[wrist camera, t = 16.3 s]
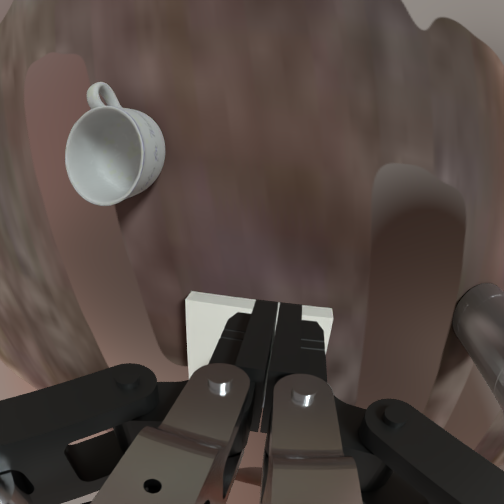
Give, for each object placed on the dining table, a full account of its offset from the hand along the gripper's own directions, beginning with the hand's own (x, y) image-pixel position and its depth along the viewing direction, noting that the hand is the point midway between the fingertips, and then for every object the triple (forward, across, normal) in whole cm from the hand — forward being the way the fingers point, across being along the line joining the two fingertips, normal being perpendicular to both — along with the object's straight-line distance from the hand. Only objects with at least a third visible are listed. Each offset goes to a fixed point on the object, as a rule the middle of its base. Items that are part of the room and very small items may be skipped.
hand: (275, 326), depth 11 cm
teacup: (+27, +20, -6) cm, 34 cm away
